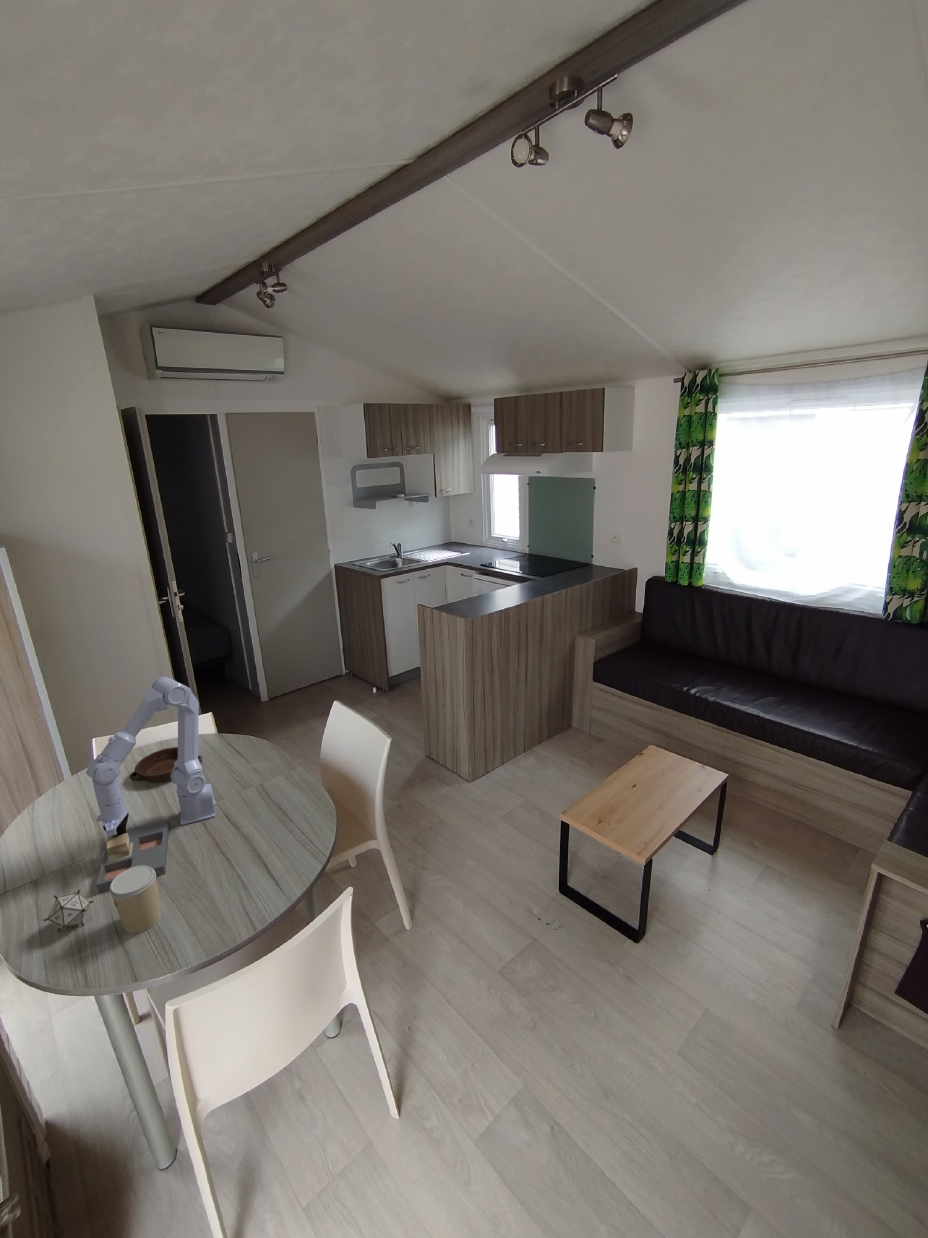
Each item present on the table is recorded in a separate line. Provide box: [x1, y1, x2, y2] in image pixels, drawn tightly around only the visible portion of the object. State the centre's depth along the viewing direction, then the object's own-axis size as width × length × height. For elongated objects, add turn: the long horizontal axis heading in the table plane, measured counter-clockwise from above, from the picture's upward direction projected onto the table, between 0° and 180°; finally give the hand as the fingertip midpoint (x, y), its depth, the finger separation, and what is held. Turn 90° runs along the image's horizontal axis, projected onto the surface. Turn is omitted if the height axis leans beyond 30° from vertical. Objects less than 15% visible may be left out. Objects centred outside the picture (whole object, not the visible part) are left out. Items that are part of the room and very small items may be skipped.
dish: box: [129, 746, 203, 784], centre depth 192 cm, size 18×22×5 cm
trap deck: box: [96, 818, 170, 894], centre depth 153 cm, size 15×21×2 cm
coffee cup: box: [108, 865, 162, 934], centre depth 131 cm, size 9×9×12 cm
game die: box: [42, 889, 94, 933], centre depth 131 cm, size 9×8×10 cm
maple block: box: [106, 833, 131, 861], centre depth 150 cm, size 4×4×4 cm
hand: (121, 842), depth 154 cm, fingers closed
